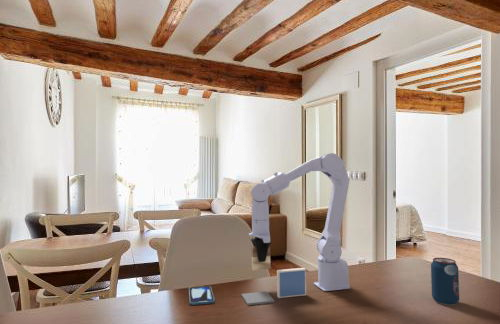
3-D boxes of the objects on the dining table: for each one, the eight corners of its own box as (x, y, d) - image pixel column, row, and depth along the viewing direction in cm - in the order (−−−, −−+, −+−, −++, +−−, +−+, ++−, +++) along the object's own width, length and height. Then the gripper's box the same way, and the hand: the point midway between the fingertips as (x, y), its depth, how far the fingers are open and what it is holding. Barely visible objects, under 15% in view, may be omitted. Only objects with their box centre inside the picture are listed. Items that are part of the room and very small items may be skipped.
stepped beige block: (269, 267, 113) (268, 244, 113) (270, 268, 111) (270, 245, 112) (251, 268, 111) (251, 246, 112) (253, 270, 110) (252, 247, 110)
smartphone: (210, 285, 112) (215, 300, 98) (210, 288, 112) (215, 304, 98) (188, 287, 111) (189, 302, 96) (188, 290, 111) (189, 306, 96)
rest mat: (266, 293, 106) (266, 291, 106) (274, 302, 98) (274, 300, 98) (241, 295, 104) (241, 293, 104) (247, 305, 96) (247, 303, 96)
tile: (304, 293, 105) (303, 267, 106) (306, 295, 104) (306, 269, 104) (277, 296, 103) (276, 270, 103) (278, 298, 101) (278, 271, 102)
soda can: (462, 307, 93) (461, 263, 93) (434, 304, 95) (433, 262, 96) (455, 298, 99) (454, 258, 100) (429, 296, 102) (428, 256, 102)
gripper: (243, 217, 118) (244, 256, 117) (254, 223, 104) (255, 267, 103) (262, 216, 120) (263, 255, 119) (276, 222, 106) (277, 265, 105)
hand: (261, 260), depth 111 cm, fingers closed on stepped beige block, 2 cm apart
